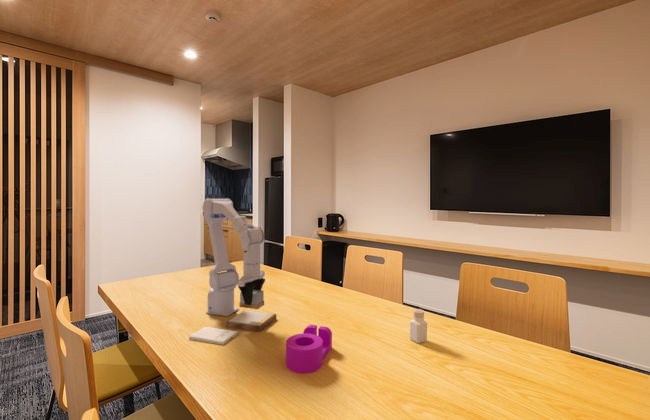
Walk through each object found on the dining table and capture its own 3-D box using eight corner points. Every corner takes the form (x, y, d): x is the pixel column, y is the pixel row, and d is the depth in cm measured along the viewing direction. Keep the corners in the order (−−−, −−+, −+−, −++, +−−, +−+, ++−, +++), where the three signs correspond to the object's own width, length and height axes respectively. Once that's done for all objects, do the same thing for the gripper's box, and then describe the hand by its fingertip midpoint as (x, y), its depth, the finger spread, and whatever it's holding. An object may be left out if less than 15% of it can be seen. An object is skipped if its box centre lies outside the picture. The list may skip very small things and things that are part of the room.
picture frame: (226, 326, 110) (226, 321, 110) (245, 314, 121) (245, 309, 121) (260, 331, 106) (260, 325, 106) (276, 318, 118) (276, 313, 117)
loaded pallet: (239, 306, 110) (239, 292, 109) (246, 302, 114) (246, 288, 114) (257, 309, 108) (257, 294, 107) (264, 304, 112) (264, 290, 112)
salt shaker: (417, 344, 98) (418, 314, 98) (408, 339, 102) (409, 309, 101) (427, 341, 100) (428, 311, 100) (418, 336, 104) (419, 307, 103)
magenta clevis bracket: (314, 377, 80) (314, 352, 80) (279, 369, 84) (279, 346, 83) (334, 348, 95) (334, 328, 95) (303, 343, 99) (303, 323, 98)
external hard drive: (205, 330, 108) (238, 335, 105) (189, 341, 100) (223, 346, 97) (205, 326, 108) (238, 330, 104) (188, 336, 100) (223, 341, 97)
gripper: (251, 268, 102) (251, 310, 103) (272, 259, 116) (271, 296, 117) (232, 266, 104) (232, 307, 105) (254, 258, 118) (254, 294, 119)
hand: (251, 301), depth 111 cm, fingers closed on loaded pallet, 5 cm apart
